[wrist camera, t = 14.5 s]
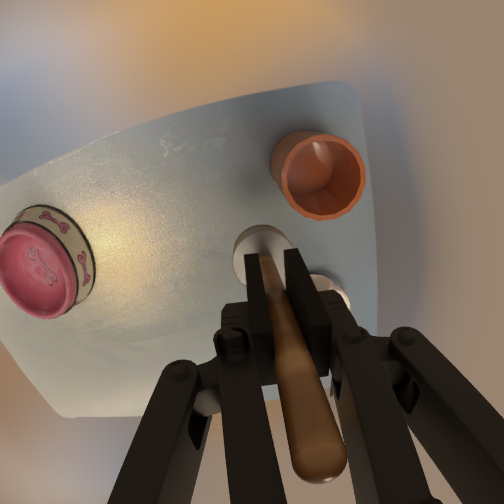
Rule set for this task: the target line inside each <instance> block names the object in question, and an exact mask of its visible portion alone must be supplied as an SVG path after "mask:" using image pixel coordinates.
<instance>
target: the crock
mask: <svg viewBox="0 0 504 504" xmlns="http://www.w3.org/2000/svg"><path fill="white" fill-rule="evenodd" d="M270 167H271V173H272V177H273V179H274V181H275V182H276V184H277V186H278V187H279V189H280V190H281V192H282V193H283V195H284V197H285V198H286V200H287V201H288V203H289V204H290V206H291V207H292V208H294V209H295V210H296V211H297V212H299V213H300V214H301V215H302V216H304V217H307V218H311V219H315V220H318V221H321V220H329V219H336V218H338V217H340V216H341V215H343V214H345V213H347V212H349V211H350V210H351V209H352V208H353V206H354V205H355V204H356V203H357V202H358V200H359V199H360V197H361V195H362V192H363V189H364V186H365V166H364V163H363V161H362V159H361V156H360V154H359V152H358V151H357V150H356V149H355V148H354V147H353V146H352V145H351V144H350V143H349V142H348V141H347V140H344V139H342V138H339V137H336V136H334V135H330V134H325V133H319V132H313V131H298V132H294V133H291V134H289V135H287V136H285V137H284V138H283V139H282V140H281V141H280V142H279V143H278V144H277V145H276V147H275V148H274V150H273V153H272V156H271V161H270Z"/></svg>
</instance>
